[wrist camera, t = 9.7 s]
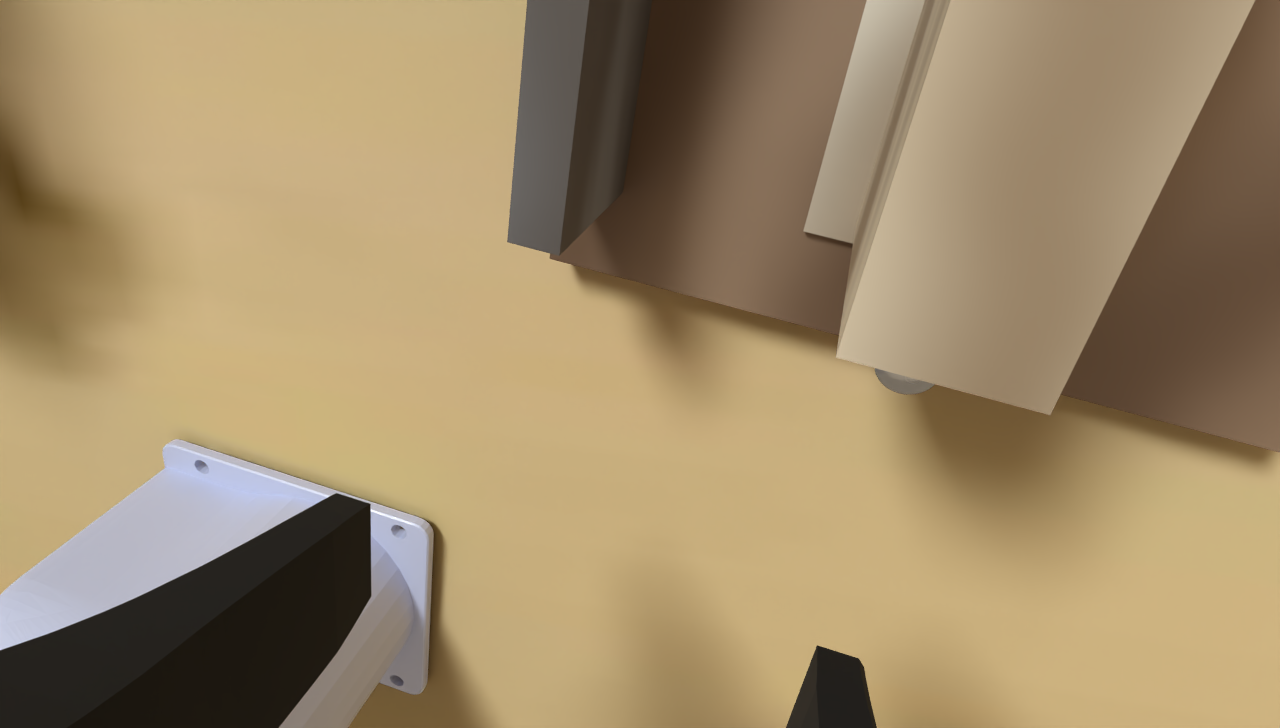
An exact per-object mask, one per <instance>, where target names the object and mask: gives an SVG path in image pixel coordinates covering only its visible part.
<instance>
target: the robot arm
mask: <svg viewBox="0 0 1280 728" xmlns="http://www.w3.org/2000/svg"><path fill="white" fill-rule="evenodd" d="M163 458H164V464H165V468H164V469H163V470H162V471H160V472H159V473H158V474H156V475H155V476H154V477H152V478H151V479H150V480H148V481H147V482H146V483H144V484H143V485H142V486H140V487H139V488H138V489H136V490H135V491H134V492H132V493H131V494H130V495H128V496H127V497H126V498H124V499H123V500H122V501H120V502H119V503H118V504H116V505H115V506H114V507H112V508H111V509H110V510H108V511H107V512H106V513H104V514H103V515H102V516H100V517H99V518H98V519H96V520H95V521H94V522H92V523H91V524H90V525H88V526H87V527H86V528H84V529H83V530H82V531H80V532H79V533H78V534H76V535H75V536H74V537H73V538H71V539H70V540H69V541H67V542H66V543H65V544H63V545H62V546H61V547H59V548H58V549H57V550H55V551H54V552H53V553H51V554H50V555H49V556H47V557H46V558H45V559H43V560H42V561H41V562H39V563H38V564H37V565H35V566H34V567H33V568H31V569H30V570H29V571H27V572H26V573H25V574H23V575H22V576H21V577H19V578H18V579H17V580H16V581H15V582H14V583H12V584H11V585H10V586H9V587H8V588H7V589H6V590H5V591H4V592H3V593H2V594H1V595H0V728H348V727H349V726H350V724H351V723H352V721H353V720H354V718H355V717H356V715H357V714H358V712H359V711H360V709H361V708H362V706H363V705H364V704H365V702H366V701H367V699H368V698H369V696H370V695H371V693H372V692H373V690H374V689H375V687H376V686H377V684H378V683H381V684H384V685H387V686H390V687H392V688H395V689H398V690H401V691H403V692H406V693H409V694H413V695H416V694H420V693H422V692H423V690H424V688H425V687H426V685H427V681H428V658H429V634H430V611H431V587H432V564H433V540H434V533H433V529H432V527H431V526H430V524H429V523H428V522H427V521H426V520H424V519H422V518H419V517H416V516H413V515H410V514H407V513H404V512H401V511H398V510H395V509H392V508H389V507H386V506H383V505H380V504H376V503H373V502H370V501H367V500H364V499H361V498H358V497H355V496H352V495H349V494H346V493H343V492H340V491H336V490H333V489H330V488H327V487H324V486H321V485H318V484H315V483H312V482H309V481H306V480H303V479H300V478H296V477H293V476H290V475H287V474H284V473H281V472H278V471H275V470H272V469H269V468H266V467H263V466H260V465H257V464H253V463H250V462H247V461H244V460H241V459H238V458H235V457H232V456H229V455H226V454H223V453H220V452H217V451H213V450H210V449H207V448H204V447H201V446H198V445H195V444H192V443H189V442H186V441H183V440H178V439H175V440H172V441H171V442H169V443H168V444H166V445H165V446H164V448H163ZM400 526H401V527H403V528H404V529H405V530H404V529H402V528H401V527H400ZM786 728H877V727H876V723H875V719H874V714H873V710H872V706H871V701H870V697H869V692H868V687H867V682H866V677H865V671H864V666H863V665H862V663H861V661H860V660H859V659H858V658H855V657H852V656H849V655H846V654H842V653H839V652H836V651H833V650H830V649H827V648H824V647H820V646H817V647H816V650H815V652H814V655H813V658H812V660H811V663H810V666H809V668H808V671H807V674H806V676H805V679H804V681H803V684H802V687H801V689H800V692H799V695H798V697H797V700H796V703H795V705H794V708H793V710H792V713H791V716H790V718H789V721H788V724H787V726H786Z"/></svg>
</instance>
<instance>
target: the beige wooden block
mask: <svg viewBox="0 0 1280 728" xmlns="http://www.w3.org/2000/svg"><path fill="white" fill-rule="evenodd" d="M1254 2H1255V0H925V2H924V5H923V8H922V12H921V15H920V18H919V21H918V25H917V28H916V31H915V34H914V38H913V41H912V44H911V47H910V51H909V54H908V57H907V60H906V64H905V67H904V70H903V73H902V77H901V80H900V83H899V86H898V90H897V93H896V96H895V99H894V103H893V106H892V109H891V112H890V116H889V119H888V122H887V125H886V129H885V132H884V135H883V138H882V142H881V145H880V148H879V152H878V155H877V158H876V161H875V165H874V168H873V171H872V174H871V178H870V181H869V184H868V187H867V191H866V194H865V197H864V200H863V204H862V207H861V210H860V213H859V217H858V220H857V223H856V227H855V234H854V241H853V247H852V254H851V260H850V267H849V273H848V280H847V287H846V293H845V300H844V306H843V313H842V319H841V326H840V332H839V339H838V346H837V352H836V358H839V359H843V360H847V361H850V362H854V363H858V364H862V365H865V366H869V367H873V368H876V369H880V370H884V371H888V372H891V373H895V374H899V375H902V376H906V377H910V378H913V379H917V380H921V381H925V382H928V383H932V384H936V385H939V386H943V387H947V388H951V389H954V390H958V391H962V392H965V393H969V394H973V395H977V396H980V397H984V398H988V399H991V400H995V401H999V402H1002V403H1006V404H1010V405H1014V406H1017V407H1021V408H1025V409H1028V410H1032V411H1036V412H1040V413H1043V414H1047V415H1051V413H1052V411H1053V409H1054V407H1055V405H1056V403H1057V401H1058V399H1059V397H1060V394H1061V392H1062V390H1063V388H1064V386H1065V384H1066V382H1067V380H1068V378H1069V376H1070V374H1071V372H1072V370H1073V368H1074V366H1075V364H1076V362H1077V360H1078V358H1079V356H1080V354H1081V352H1082V350H1083V348H1084V346H1085V344H1086V342H1087V340H1088V338H1089V336H1090V334H1091V332H1092V330H1093V328H1094V326H1095V324H1096V322H1097V320H1098V318H1099V316H1100V314H1101V312H1102V310H1103V307H1104V305H1105V303H1106V301H1107V299H1108V297H1109V295H1110V293H1111V291H1112V289H1113V287H1114V285H1115V283H1116V281H1117V279H1118V277H1119V275H1120V273H1121V271H1122V269H1123V267H1124V265H1125V263H1126V261H1127V259H1128V257H1129V255H1130V253H1131V251H1132V249H1133V247H1134V245H1135V243H1136V241H1137V239H1138V237H1139V235H1140V233H1141V231H1142V229H1143V227H1144V225H1145V222H1146V220H1147V218H1148V216H1149V214H1150V212H1151V210H1152V208H1153V206H1154V204H1155V202H1156V200H1157V198H1158V196H1159V194H1160V192H1161V190H1162V188H1163V186H1164V184H1165V182H1166V180H1167V178H1168V176H1169V174H1170V172H1171V170H1172V168H1173V166H1174V164H1175V162H1176V160H1177V158H1178V156H1179V154H1180V152H1181V150H1182V148H1183V146H1184V144H1185V142H1186V140H1187V138H1188V135H1189V133H1190V131H1191V129H1192V127H1193V125H1194V123H1195V121H1196V119H1197V117H1198V115H1199V113H1200V111H1201V109H1202V107H1203V105H1204V103H1205V101H1206V99H1207V97H1208V95H1209V93H1210V91H1211V89H1212V87H1213V85H1214V83H1215V81H1216V79H1217V77H1218V75H1219V73H1220V71H1221V69H1222V67H1223V65H1224V63H1225V61H1226V59H1227V57H1228V55H1229V53H1230V50H1231V48H1232V46H1233V44H1234V42H1235V40H1236V38H1237V36H1238V34H1239V32H1240V30H1241V28H1242V26H1243V24H1244V22H1245V20H1246V18H1247V16H1248V14H1249V12H1250V10H1251V8H1252V6H1253V4H1254Z"/></svg>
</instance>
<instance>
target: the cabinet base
mask: <svg viewBox="0 0 1280 728" xmlns="http://www.w3.org/2000/svg"><path fill="white" fill-rule="evenodd" d="M924 2H925V0H527V11H526V23H525V35H524V47H523V59H522V71H521V84H520V96H519V108H518V120H517V132H516V144H515V156H514V168H513V180H512V193H511V205H510V217H509V229H508V241H507V242H509V243H513V244H516V245H520V246H524V247H528V248H532V249H535V250H539V251H543V252H547V253H550V259H553V260H557V261H560V262H564V263H568V264H572V265H575V266H579V267H583V268H587V269H591V270H594V271H598V272H602V273H606V274H609V275H613V276H617V277H621V278H624V279H628V280H632V281H636V282H639V283H643V284H647V285H651V286H655V287H658V288H662V289H666V290H670V291H673V292H677V293H681V294H685V295H688V296H692V297H696V298H700V299H703V300H707V301H711V302H715V303H719V304H722V305H726V306H730V307H734V308H737V309H741V310H745V311H749V312H752V313H756V314H760V315H764V316H767V317H771V318H775V319H779V320H783V321H786V322H790V323H794V324H798V325H801V326H805V327H809V328H813V329H816V330H820V331H824V332H828V333H831V334H835V335H839V332H840V326H841V319H842V313H843V306H844V300H845V293H846V287H847V280H848V273H849V267H850V260H851V254H852V247H853V241H854V234H855V227H856V223H857V220H858V217H859V213H860V210H861V207H862V204H863V200H864V197H865V194H866V191H867V187H868V184H869V181H870V178H871V174H872V171H873V168H874V165H875V161H876V158H877V155H878V152H879V148H880V145H881V142H882V138H883V135H884V132H885V129H886V125H887V122H888V119H889V116H890V112H891V109H892V106H893V103H894V99H895V96H896V93H897V90H898V86H899V83H900V80H901V77H902V73H903V70H904V67H905V64H906V60H907V57H908V54H909V51H910V47H911V44H912V41H913V38H914V34H915V31H916V28H917V25H918V21H919V18H920V15H921V12H922V8H923V5H924ZM1061 395H1065V396H1069V397H1072V398H1076V399H1080V400H1084V401H1088V402H1091V403H1095V404H1099V405H1103V406H1106V407H1110V408H1114V409H1118V410H1121V411H1125V412H1129V413H1133V414H1137V415H1140V416H1144V417H1148V418H1152V419H1155V420H1159V421H1163V422H1167V423H1170V424H1174V425H1178V426H1182V427H1185V428H1189V429H1193V430H1197V431H1201V432H1204V433H1208V434H1212V435H1216V436H1219V437H1223V438H1227V439H1231V440H1234V441H1238V442H1242V443H1246V444H1249V445H1253V446H1257V447H1261V448H1265V449H1268V450H1272V451H1276V452H1280V0H1255V2H1254V4H1253V6H1252V8H1251V10H1250V12H1249V14H1248V16H1247V18H1246V20H1245V22H1244V24H1243V26H1242V28H1241V30H1240V32H1239V34H1238V36H1237V38H1236V40H1235V42H1234V44H1233V46H1232V48H1231V50H1230V53H1229V55H1228V57H1227V59H1226V61H1225V63H1224V65H1223V67H1222V69H1221V71H1220V73H1219V75H1218V77H1217V79H1216V81H1215V83H1214V85H1213V87H1212V89H1211V91H1210V93H1209V95H1208V97H1207V99H1206V101H1205V103H1204V105H1203V107H1202V109H1201V111H1200V113H1199V115H1198V117H1197V119H1196V121H1195V123H1194V125H1193V127H1192V129H1191V131H1190V133H1189V135H1188V138H1187V140H1186V142H1185V144H1184V146H1183V148H1182V150H1181V152H1180V154H1179V156H1178V158H1177V160H1176V162H1175V164H1174V166H1173V168H1172V170H1171V172H1170V174H1169V176H1168V178H1167V180H1166V182H1165V184H1164V186H1163V188H1162V190H1161V192H1160V194H1159V196H1158V198H1157V200H1156V202H1155V204H1154V206H1153V208H1152V210H1151V212H1150V214H1149V216H1148V218H1147V220H1146V222H1145V225H1144V227H1143V229H1142V231H1141V233H1140V235H1139V237H1138V239H1137V241H1136V243H1135V245H1134V247H1133V249H1132V251H1131V253H1130V255H1129V257H1128V259H1127V261H1126V263H1125V265H1124V267H1123V269H1122V271H1121V273H1120V275H1119V277H1118V279H1117V281H1116V283H1115V285H1114V287H1113V289H1112V291H1111V293H1110V295H1109V297H1108V299H1107V301H1106V303H1105V305H1104V307H1103V310H1102V312H1101V314H1100V316H1099V318H1098V320H1097V322H1096V324H1095V326H1094V328H1093V330H1092V332H1091V334H1090V336H1089V338H1088V340H1087V342H1086V344H1085V346H1084V348H1083V350H1082V352H1081V354H1080V356H1079V358H1078V360H1077V362H1076V364H1075V366H1074V368H1073V370H1072V372H1071V374H1070V376H1069V378H1068V380H1067V382H1066V384H1065V386H1064V388H1063V390H1062V392H1061Z"/></svg>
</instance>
